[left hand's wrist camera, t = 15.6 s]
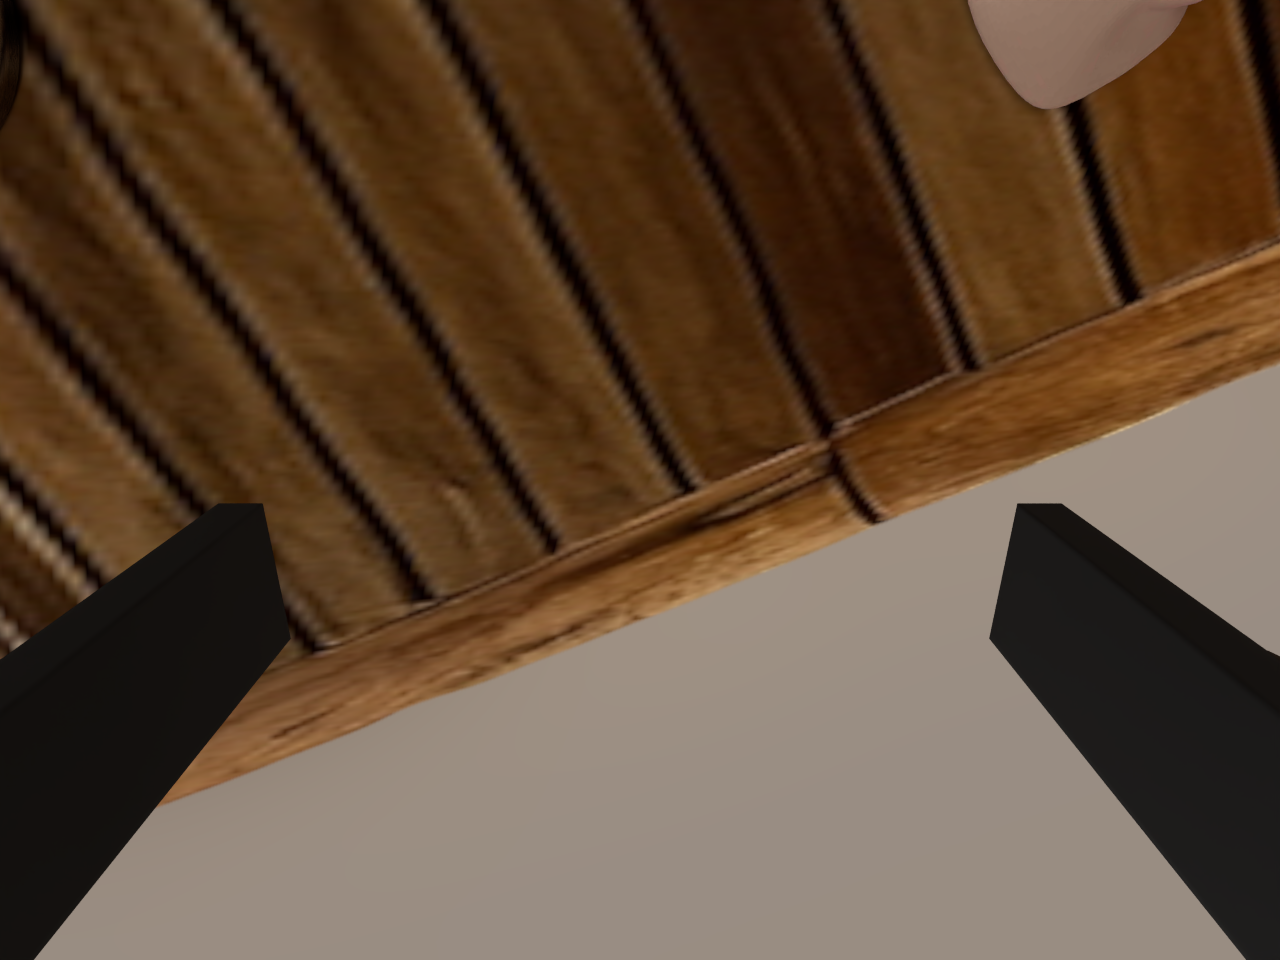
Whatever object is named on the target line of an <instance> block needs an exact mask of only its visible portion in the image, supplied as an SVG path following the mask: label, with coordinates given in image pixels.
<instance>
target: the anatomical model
mask: <svg viewBox="0 0 1280 960" xmlns="http://www.w3.org/2000/svg"><path fill="white" fill-rule="evenodd" d="M1200 1H1202V0H968V4H969V7H970V10H971V13H972V16H973V20H974V23H975V25H976V27H977V30H978V32H979V34H980V36H981V39H982V41H983V43H984V45H985V46H986V48H987V50H988V52H989V53H990V55H991V57H992V59H993V60H994V62H995V64H996V65H997V66H998V68H999V69H1000V71H1001V72H1002V74H1003V75H1004V77H1005V78H1006V80H1007V81H1008V82H1009V83H1010V85H1011V86H1012V87H1013V88H1014V89H1015V91H1016V92H1017V93H1018V94H1019V95H1020V96H1021V97H1022V98H1023V99H1024V100H1025V101H1027V102H1029V103H1030V104H1032V105H1033V106H1036V107H1038V108H1042V109H1054V108H1059V107H1062V106H1065V105H1068V104H1070V103H1072V102H1074V101H1076V100H1079V99H1081V98H1083V97H1085V96H1087V95H1088V94H1090V93H1092V92H1093V91H1095V90H1097V89H1099V88H1100V87H1102V86H1104V85H1106V84H1107V83H1109V82H1111V81H1112V80H1114V79H1116V78H1117V77H1119V76H1121V75H1122V74H1124V73H1125V72H1127V71H1128V70H1129V69H1131V68H1132V67H1134V66H1135V65H1136V64H1137V63H1139V62H1140V61H1141V60H1143V59H1144V58H1145V57H1146V56H1148V55H1149V54H1150V53H1151V52H1153V51H1154V50H1155V49H1156V48H1157V47H1159V46H1160V45H1161V44H1162V43H1163V42H1164V41H1165V40H1166V39H1167V38H1168V37H1169V36H1170V35H1171V34H1172V33H1173V31H1174V30H1175V29H1176V27H1177V26H1178V25H1179V23H1180V21H1181V19H1182V17H1183V16H1184V14H1185V11H1186V9H1187V7H1188V5H1190V4H1194V3H1197V2H1200Z"/></svg>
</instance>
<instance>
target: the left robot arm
mask: <svg viewBox="0 0 1280 960" xmlns="http://www.w3.org/2000/svg"><path fill="white" fill-rule="evenodd" d="M18 72H19V36H18V26H17V21H16V15H15V9H14V5H13V1H12V0H0V129H1V127H2V125H3V124H4V122H5V119H6V117H7V115H8V113H9V111H10V108H11V105H12V102H13V99H14V95H15V91H16V86H17V81H18ZM290 639H291V638H290V633H289V628H288V623H287V618H286V614H285V609H284V604H283V599H282V594H281V590H280V585H279V580H278V575H277V570H276V566H275V561H274V556H273V551H272V546H271V542H270V537H269V532H268V527H267V522H266V518H265V513H264V508H263V504H217V505H216V506H214V507H213V508H212V509H210V510H209V511H207V512H206V513H205V514H203V515H202V516H200V517H199V518H198V519H196V520H195V521H193V522H192V523H191V524H189V525H188V526H186V527H185V528H184V529H182V530H181V531H179V532H178V533H177V534H175V535H174V536H172V537H171V538H170V539H168V540H167V541H166V542H164V543H163V544H161V545H160V546H159V547H157V548H156V549H154V550H153V551H152V552H150V553H149V554H147V555H146V556H145V557H143V558H142V559H140V560H139V561H138V562H136V563H135V564H133V565H132V566H131V567H129V568H128V569H126V570H125V571H124V572H122V573H121V574H119V575H118V576H117V577H115V578H114V579H112V580H111V581H110V582H108V583H107V584H105V585H104V586H103V587H101V588H100V589H98V590H97V591H96V592H94V593H93V594H92V595H90V596H89V597H87V598H86V599H85V600H83V601H82V602H80V603H79V604H78V605H76V606H75V607H73V608H72V609H71V610H69V611H68V612H66V613H65V614H64V615H62V616H61V617H59V618H58V619H57V620H55V621H54V622H52V623H51V624H50V625H48V626H47V627H45V628H44V629H43V630H41V631H40V632H38V633H37V634H36V635H34V636H33V637H31V638H30V639H29V640H27V641H26V642H24V643H23V644H22V645H20V646H19V647H17V648H16V649H15V650H13V651H12V652H11V653H9V654H8V655H6V656H5V657H4V658H2V659H0V960H34V959H35V958H36V956H37V955H38V954H39V953H40V951H41V950H42V949H43V948H44V946H45V945H46V944H47V943H48V941H49V940H50V939H51V938H52V936H53V935H54V934H55V933H56V931H57V930H58V929H59V928H60V926H61V925H62V924H63V923H64V921H65V920H66V919H67V918H68V916H69V915H70V914H71V913H72V911H73V910H74V909H75V908H76V906H77V905H78V904H79V903H80V901H81V900H82V899H83V898H84V896H85V895H86V894H87V893H88V891H89V890H90V889H91V888H92V886H93V885H94V884H95V883H96V881H97V880H98V879H99V878H100V876H101V875H102V874H103V873H104V871H105V870H106V869H107V868H108V866H109V865H110V864H111V863H112V861H113V860H114V859H115V858H116V856H117V855H118V854H119V853H120V851H121V850H122V849H123V848H124V846H125V845H126V844H127V843H128V841H129V840H130V839H131V838H132V836H133V835H134V834H135V833H136V831H137V830H138V829H139V828H140V826H141V825H142V824H143V823H144V821H145V820H146V819H147V818H148V816H149V815H150V814H151V813H152V811H153V810H154V809H155V808H156V806H157V805H158V804H159V803H160V801H161V800H162V799H163V798H164V796H165V795H166V794H167V793H168V791H169V790H170V789H171V788H172V786H173V785H174V784H175V783H176V781H177V780H178V779H179V778H180V776H181V775H182V774H183V773H184V771H185V770H186V769H187V768H188V766H189V765H190V764H191V763H192V761H193V760H194V759H195V758H196V756H197V755H198V754H199V753H200V751H201V750H202V749H203V748H204V746H205V745H206V744H207V743H208V741H209V740H210V739H211V738H212V736H213V735H214V734H215V733H216V731H217V730H218V729H219V728H220V726H221V725H222V724H223V723H224V721H225V720H226V719H227V718H228V716H229V715H230V714H231V713H232V711H233V710H234V709H235V708H236V706H237V705H238V704H239V703H240V701H241V700H242V699H243V698H244V696H245V695H246V694H247V693H248V691H249V690H250V689H251V688H252V686H253V685H254V684H255V683H256V681H257V680H258V679H259V678H260V676H261V675H262V674H263V673H264V671H265V670H266V669H267V668H268V666H269V665H270V664H271V663H272V661H273V660H274V659H275V658H276V656H277V655H278V654H279V653H280V651H281V650H282V649H283V648H284V646H285V645H286V644H287V642H288V641H289V640H290ZM989 639H990V640H991V641H992V643H993V644H994V645H995V646H996V648H997V649H998V650H999V651H1000V652H1001V654H1002V655H1003V656H1004V658H1005V659H1006V660H1007V661H1008V662H1009V664H1010V665H1011V666H1012V668H1013V669H1014V670H1015V671H1016V672H1017V674H1018V675H1019V676H1020V678H1021V679H1022V680H1023V681H1024V683H1025V684H1026V685H1027V686H1028V687H1029V689H1030V690H1031V691H1032V693H1033V694H1034V695H1035V696H1036V697H1037V699H1038V700H1039V701H1040V702H1041V704H1042V705H1043V706H1044V708H1045V709H1046V710H1047V711H1048V713H1049V714H1050V715H1051V716H1052V717H1053V719H1054V720H1055V721H1056V723H1057V724H1058V725H1059V726H1060V728H1061V729H1062V730H1063V731H1064V733H1065V734H1066V735H1067V736H1068V738H1069V739H1070V740H1071V741H1072V743H1073V744H1074V745H1075V746H1076V748H1077V749H1078V750H1079V751H1080V753H1081V754H1082V755H1083V756H1084V758H1085V759H1086V760H1087V761H1088V763H1089V764H1090V765H1091V766H1092V767H1093V769H1094V770H1095V771H1096V773H1097V774H1098V775H1099V776H1100V778H1101V779H1102V780H1103V781H1104V783H1105V784H1106V785H1107V786H1108V788H1109V789H1110V790H1111V791H1112V793H1113V794H1114V795H1115V796H1116V797H1117V799H1118V800H1119V801H1120V803H1121V804H1122V805H1123V806H1124V808H1125V809H1126V810H1127V811H1128V813H1129V814H1130V815H1131V816H1132V818H1133V819H1134V820H1135V821H1136V823H1137V824H1138V825H1139V826H1140V828H1141V829H1142V830H1143V831H1144V832H1145V834H1146V835H1147V836H1148V838H1149V839H1150V840H1151V841H1152V843H1153V844H1154V845H1155V846H1156V848H1157V849H1158V850H1159V851H1160V853H1161V854H1162V855H1163V856H1164V858H1165V859H1166V860H1167V861H1168V863H1169V864H1170V865H1171V866H1172V868H1173V869H1174V870H1175V871H1176V873H1177V874H1178V875H1179V876H1180V878H1181V879H1182V880H1183V881H1184V883H1185V884H1186V885H1187V886H1188V888H1189V889H1190V890H1191V891H1192V893H1193V894H1194V895H1195V896H1196V898H1197V899H1198V900H1199V901H1200V903H1201V904H1202V905H1203V906H1204V908H1205V909H1206V910H1207V911H1208V913H1209V914H1210V915H1211V916H1212V918H1213V919H1214V920H1215V921H1216V923H1217V924H1218V925H1219V926H1220V928H1221V929H1222V930H1223V931H1224V933H1225V934H1226V935H1227V936H1228V938H1229V939H1230V940H1231V941H1232V943H1233V944H1234V945H1235V946H1236V948H1237V949H1238V950H1239V951H1240V953H1241V954H1242V955H1243V956H1244V958H1245V959H1246V960H1280V656H1278V655H1276V654H1274V653H1272V652H1270V651H1267V650H1265V649H1264V648H1263V647H1261V646H1260V645H1258V644H1257V643H1256V642H1254V641H1253V640H1251V639H1250V638H1249V637H1247V636H1246V635H1244V634H1243V633H1242V632H1240V631H1239V630H1237V629H1236V628H1235V627H1233V626H1232V625H1230V624H1229V623H1227V622H1226V621H1225V620H1223V619H1222V618H1221V617H1219V616H1218V615H1216V614H1215V613H1214V612H1212V611H1211V610H1209V609H1208V608H1207V607H1205V606H1204V605H1202V604H1201V603H1200V602H1198V601H1197V600H1195V599H1194V598H1193V597H1191V596H1190V595H1188V594H1187V593H1186V592H1184V591H1183V590H1181V589H1180V588H1179V587H1177V586H1176V585H1174V584H1173V583H1172V582H1170V581H1169V580H1168V579H1166V578H1165V577H1163V576H1162V575H1160V574H1159V573H1158V572H1156V571H1155V570H1154V569H1152V568H1151V567H1149V566H1148V565H1147V564H1145V563H1144V562H1142V561H1141V560H1140V559H1138V558H1137V557H1135V556H1134V555H1133V554H1131V553H1130V552H1128V551H1127V550H1126V549H1124V548H1123V547H1121V546H1120V545H1119V544H1117V543H1116V542H1114V541H1113V540H1112V539H1110V538H1109V537H1108V536H1106V535H1105V534H1103V533H1102V532H1101V531H1099V530H1098V529H1096V528H1095V527H1093V526H1092V525H1091V524H1089V523H1088V522H1086V521H1085V520H1084V519H1082V518H1081V517H1080V516H1078V515H1077V514H1075V513H1074V512H1073V511H1071V510H1070V509H1068V508H1067V507H1065V506H1064V505H1063V504H1017V508H1016V513H1015V517H1014V522H1013V527H1012V532H1011V537H1010V542H1009V547H1008V551H1007V556H1006V561H1005V566H1004V570H1003V575H1002V580H1001V585H1000V590H999V595H998V599H997V604H996V609H995V614H994V618H993V623H992V628H991V633H990V638H989Z"/></svg>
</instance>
